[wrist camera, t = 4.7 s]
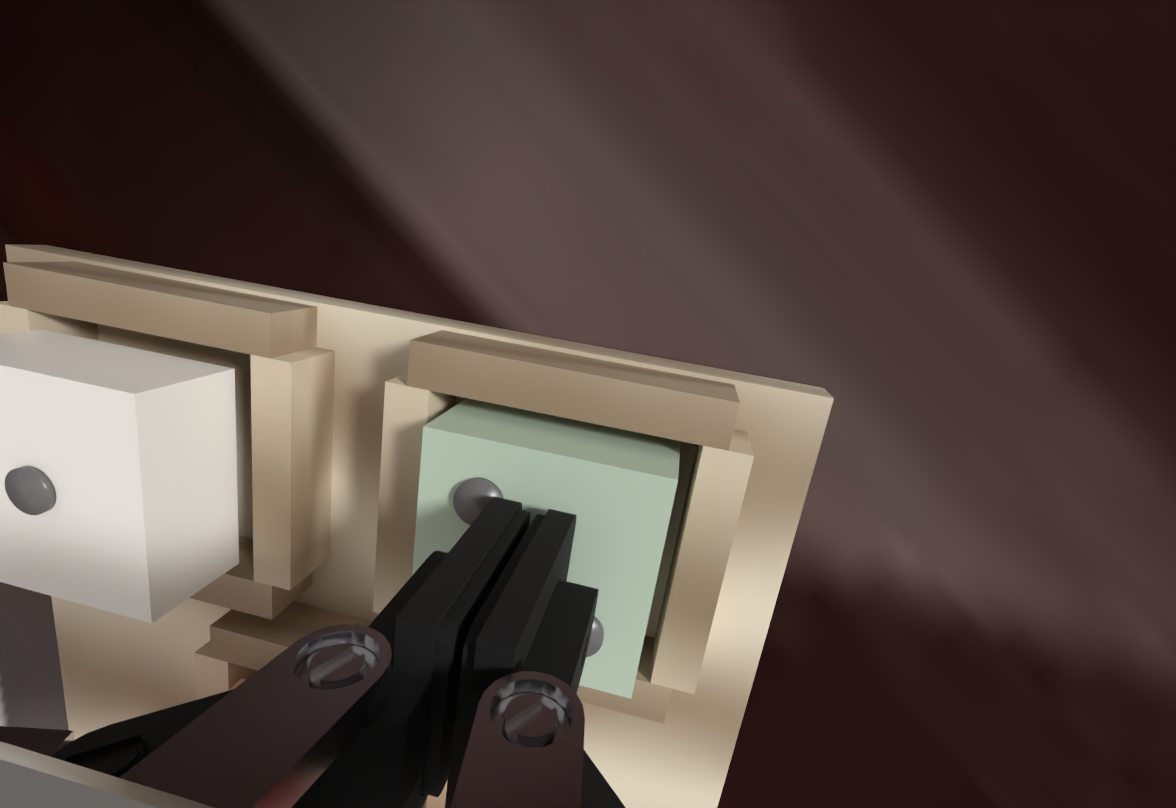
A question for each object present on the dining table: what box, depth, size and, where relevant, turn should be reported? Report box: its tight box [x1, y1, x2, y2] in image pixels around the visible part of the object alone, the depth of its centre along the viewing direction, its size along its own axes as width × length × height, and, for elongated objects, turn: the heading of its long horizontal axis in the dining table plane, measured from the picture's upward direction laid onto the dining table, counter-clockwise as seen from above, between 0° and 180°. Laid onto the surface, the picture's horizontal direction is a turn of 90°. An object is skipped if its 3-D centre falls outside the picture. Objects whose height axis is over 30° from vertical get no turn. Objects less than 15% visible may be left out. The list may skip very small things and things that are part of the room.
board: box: [0, 245, 834, 808], centre depth 16 cm, size 17×21×3 cm
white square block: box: [0, 329, 239, 623], centre depth 13 cm, size 5×5×3 cm
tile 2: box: [412, 398, 680, 699], centre depth 13 cm, size 5×5×3 cm
